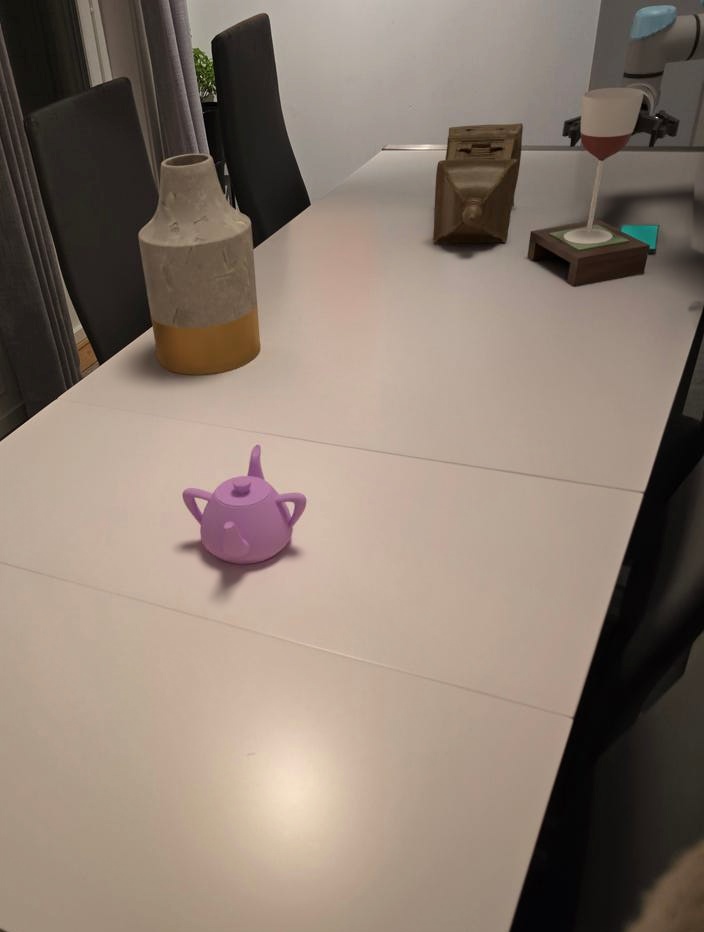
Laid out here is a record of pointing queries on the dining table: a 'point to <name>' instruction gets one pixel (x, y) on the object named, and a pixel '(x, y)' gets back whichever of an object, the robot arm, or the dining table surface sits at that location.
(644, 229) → the smartphone
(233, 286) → the vase
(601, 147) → the wineglass
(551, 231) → the shelf
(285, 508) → the teapot
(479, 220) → the ornamental box
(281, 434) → the dining table surface
